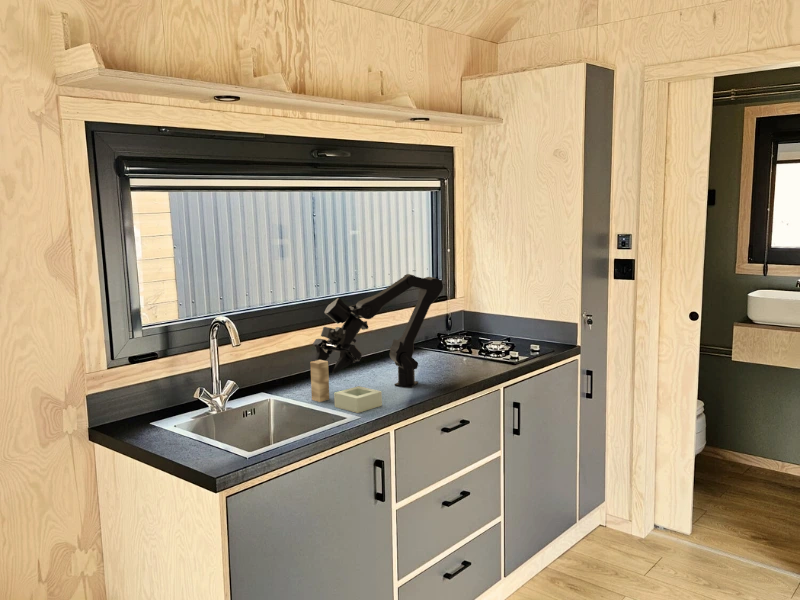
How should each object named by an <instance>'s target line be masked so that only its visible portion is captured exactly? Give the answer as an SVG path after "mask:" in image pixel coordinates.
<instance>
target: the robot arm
mask: <svg viewBox="0 0 800 600" xmlns="http://www.w3.org/2000/svg"><path fill="white" fill-rule="evenodd" d="M411 287H414V288H417V289H418V288H419V290H418V300H417V302H416V304H415V306H414V309H413V311H412V312H411V315H410V317H409V319H408V322H407V324H406V326H405V329H404V331H403V333H402V335H401V337H400V338H398V340H397V339H395V338H394V339H393V341H392V343H391V346H390V348H388V349H389V350H390V351H389V357H390V359H391V360H392V362H394V364H395V366H397V378H398V379H397V382H396V383H394V387H404V388H405V387H406V388H412V387H415V386H416V385H417V384H418V383H419V381H418V380H417V381H416V379H415V378H416V377H415V373H416V372H415V370H417V369H418V367H419V362H418V361H417V360H415V359H414V358H413V355H414V351H415V350H414V349H415V348H414V347H415V346H414V344H415V341H416V338H417V337H418V333H419V332H420V329H421V327H422V325H423V322H424V321H425V318H426V316H427V314H428V312H429V309H430V307H431V305H432V304H433V303H434V302H435V301H436V300H437V299H438V298H439V296H440V294H441V293H442V292H443V289H444V284H443V282H442V280H440V279H439V278H436V277H431V276H427V277H424V278H423V277H419V276H416V275H413V274H410V273H407V274H405V275H404V276H403V277H401V278H400V279H398V280H396V281H395V282H393V283H392V284H390V285H389V286H387V287H386V288H384V289H383V290H382V291H380V292H378V293H377V294H375V295H372V296H368V297H365V298H364V299H361V300H358V301H357V303H356V304H354V305H349V306H348V305H347V304H346V303H344V302H343V300H342V299H340V298H339V297H337V298H336V299H335V300H333V301H332V302H331V303H330V304H329V303H328V305H327V307H326V308H325V310H324V314H325V315H326V316H328V318H330V319H331V320H332V321H334V322H335V323H336V324H340V323H341V324H342V326H341V327H338V326H336V327H335V328H332V327H327V326H323V327H322V330H321V333H320V337H323V338H326V339H323V338H316V339H315V340H314V341H313V343H312V345H314V349H315V350H316V355H315V356H316V357H315V360H314V361H317V360H323V361H328V359H329V358H330V355H331V354H332V353H333V352H336V353H339V357H338V360H336V363H335V364H334V366H333V368H332V370H331V373H332V374H336V373H338V372H339V371H341V370H343V369H344V368H347V367H348V366H350V365H352V364H355V363H356V362H360V360H361V358H362V357H363V356H362V351H360V350H359V348H358V347H357V346H356V345H355V343H356V342H357V340H356V337H357V335H358V333H359V332H360V331H361V330H363V331H364V330H368V329H369V325H368V321H367V320H372V319H373V318H374V317H376V315H377V314H379V312H381V311H382V309H383V307H384V306H385V305H386V304H388V303H390V302H391V301H393V300H394V299H396V298H397V297H399V296H400V295H401V294H403V293H405V292H406V291H407V290H409V289H411ZM362 318H363V319H365V320H363V319H362ZM330 343H331V344H330Z"/></svg>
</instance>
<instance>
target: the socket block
mask: <svg viewBox="0 0 800 600" xmlns="http://www.w3.org/2000/svg"><path fill="white" fill-rule="evenodd" d="M382 392H383V391H381V390H377V389H374V388H373V389H372V388H367V387H364V386H359V385H357V386H353V387H350V388H346V389H343V390H340V391H335V392H334V394H333V397H334V408H337V409H341V410H345V411H348V412H353V413H356V414H359V413H362V412H366V411H369V410H372V409H374V408H379V407H381V406H383V395H382Z"/></svg>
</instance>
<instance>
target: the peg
mask: <svg viewBox="0 0 800 600" xmlns="http://www.w3.org/2000/svg"><path fill="white" fill-rule="evenodd" d="M309 364H310V384H311V386H310V388H311V400H312V401H315V402H318V403H321V402H325V401H328V400H330V384H329V382H330V379H329V378H330V377H329V374H330V373H329V361H328V360H326V361H323V360H317V361H315V360H314V361H310V363H309Z"/></svg>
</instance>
